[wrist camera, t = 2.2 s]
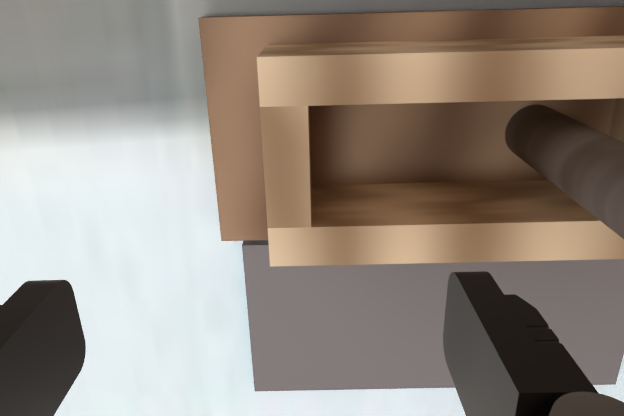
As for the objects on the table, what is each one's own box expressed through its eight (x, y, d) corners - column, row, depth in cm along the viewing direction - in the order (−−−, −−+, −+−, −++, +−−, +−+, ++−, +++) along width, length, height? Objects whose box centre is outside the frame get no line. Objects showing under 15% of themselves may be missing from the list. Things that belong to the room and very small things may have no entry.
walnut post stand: (727, 3, 23) (1295, 14, 10) (668, 222, 27) (1007, 440, 14) (202, 16, 23) (57, 46, 10) (224, 232, 28) (142, 455, 14)
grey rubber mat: (647, 231, 28) (654, 236, 27) (609, 377, 31) (615, 384, 31) (243, 240, 28) (242, 245, 27) (255, 384, 32) (254, 391, 31)
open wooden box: (669, 34, 23) (760, 44, 18) (627, 211, 26) (695, 257, 21) (267, 44, 23) (256, 56, 18) (277, 218, 26) (269, 266, 22)
